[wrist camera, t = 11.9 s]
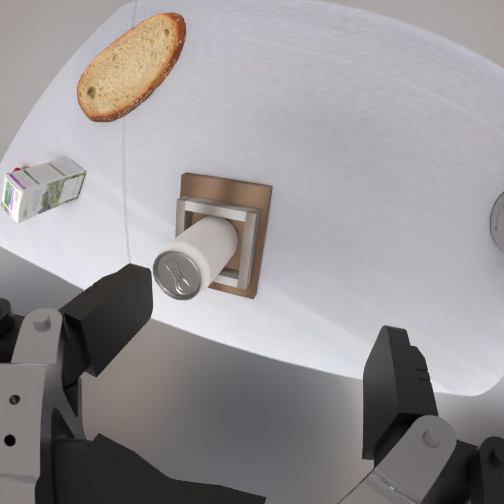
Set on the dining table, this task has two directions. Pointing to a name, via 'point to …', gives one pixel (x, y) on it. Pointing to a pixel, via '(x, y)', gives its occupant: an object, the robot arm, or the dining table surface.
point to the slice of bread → (131, 68)
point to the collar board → (238, 214)
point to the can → (195, 257)
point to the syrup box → (41, 188)
